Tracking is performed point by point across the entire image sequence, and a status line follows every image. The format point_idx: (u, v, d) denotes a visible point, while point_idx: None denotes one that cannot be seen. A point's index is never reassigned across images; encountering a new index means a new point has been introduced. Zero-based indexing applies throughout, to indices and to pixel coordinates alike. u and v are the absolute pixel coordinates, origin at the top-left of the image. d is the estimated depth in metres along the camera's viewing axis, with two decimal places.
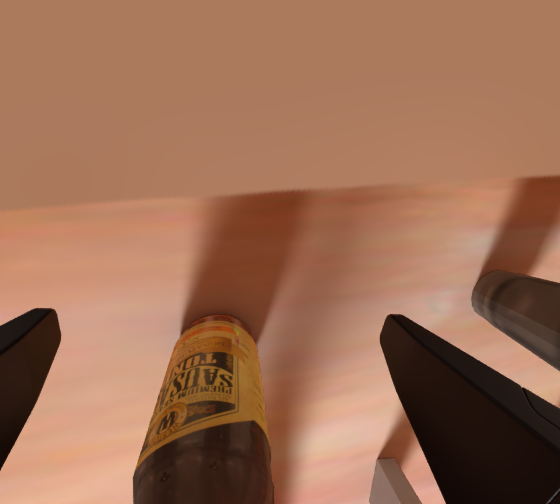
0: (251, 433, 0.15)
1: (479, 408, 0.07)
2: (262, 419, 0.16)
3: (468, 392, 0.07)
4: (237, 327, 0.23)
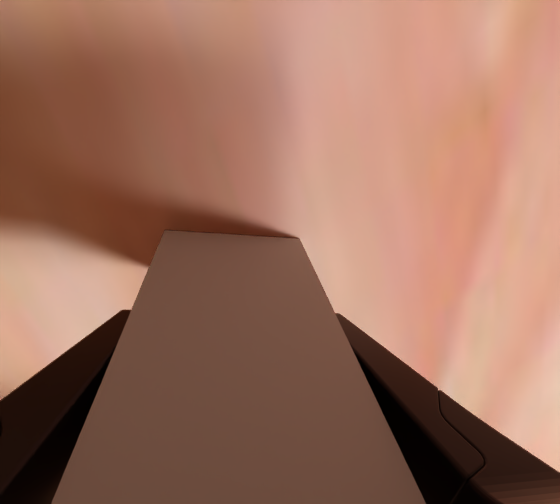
0: None
1: (390, 412, 0.06)
2: None
3: (382, 395, 0.06)
4: None
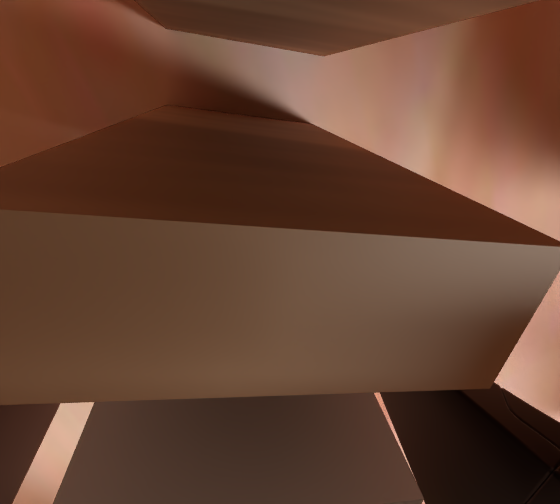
0: None
1: (457, 409, 0.06)
2: None
3: (447, 393, 0.07)
4: None
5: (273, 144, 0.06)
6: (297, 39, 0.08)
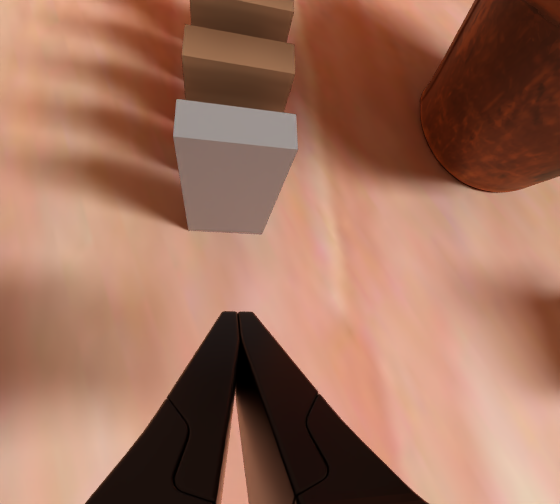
0: None
1: (261, 418, 0.06)
2: None
3: (257, 400, 0.06)
4: None
5: None
6: None
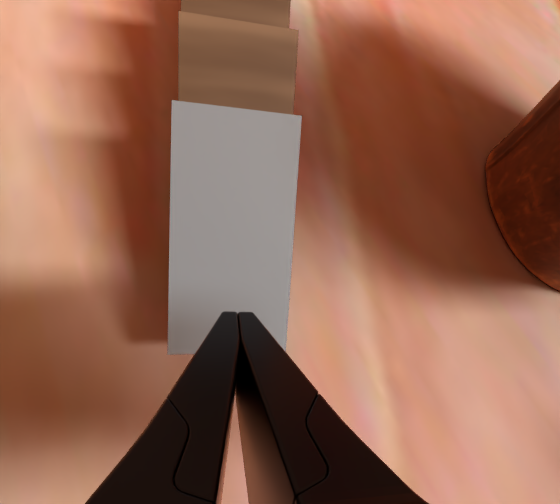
0: None
1: (261, 418, 0.06)
2: None
3: (257, 399, 0.06)
4: None
5: None
6: None
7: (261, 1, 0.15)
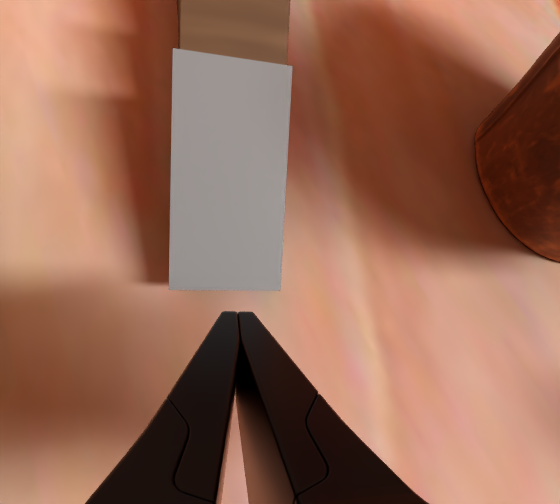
0: None
1: (261, 418, 0.06)
2: None
3: (257, 399, 0.06)
4: None
5: None
6: None
7: None
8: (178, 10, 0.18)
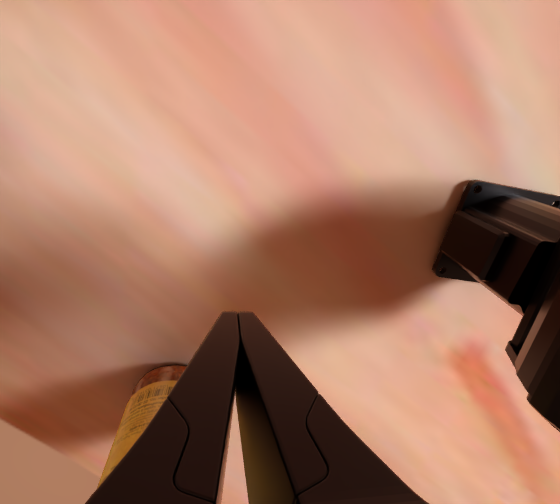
0: None
1: (261, 418, 0.06)
2: None
3: (257, 400, 0.06)
4: None
5: None
6: None
7: None
8: None
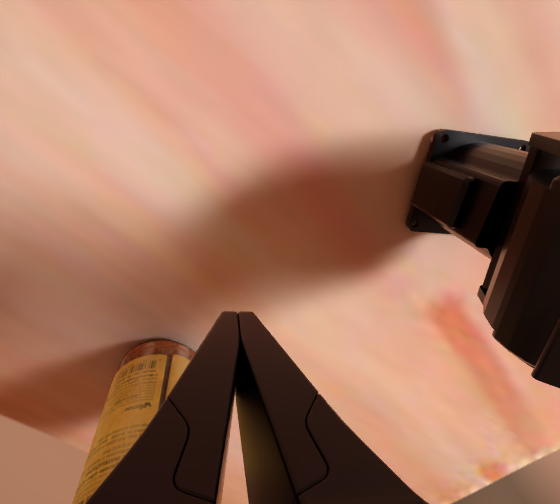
0: None
1: (261, 418, 0.06)
2: None
3: (257, 399, 0.06)
4: None
5: None
6: None
7: None
8: None
